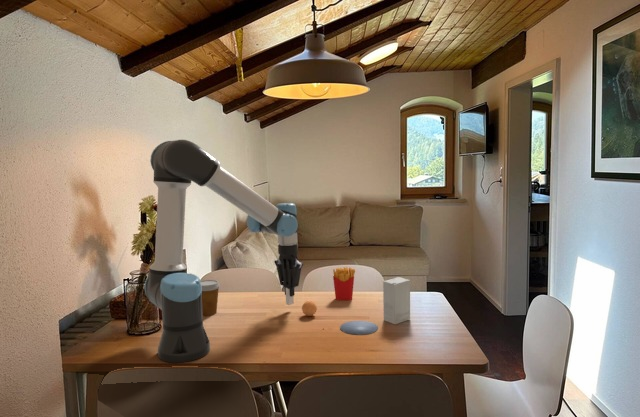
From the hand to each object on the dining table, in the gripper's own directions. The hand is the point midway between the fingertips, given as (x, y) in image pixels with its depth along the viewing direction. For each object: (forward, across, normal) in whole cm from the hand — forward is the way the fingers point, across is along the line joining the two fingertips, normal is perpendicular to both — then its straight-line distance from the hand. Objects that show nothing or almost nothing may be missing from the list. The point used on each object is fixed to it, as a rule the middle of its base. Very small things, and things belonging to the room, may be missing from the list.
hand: (289, 303), depth 177 cm
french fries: (+3, -8, -25) cm, 26 cm away
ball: (0, -10, 0) cm, 10 cm away
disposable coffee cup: (+3, +24, +20) cm, 32 cm away
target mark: (+3, -32, 0) cm, 32 cm away
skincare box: (+3, -39, -14) cm, 41 cm away
